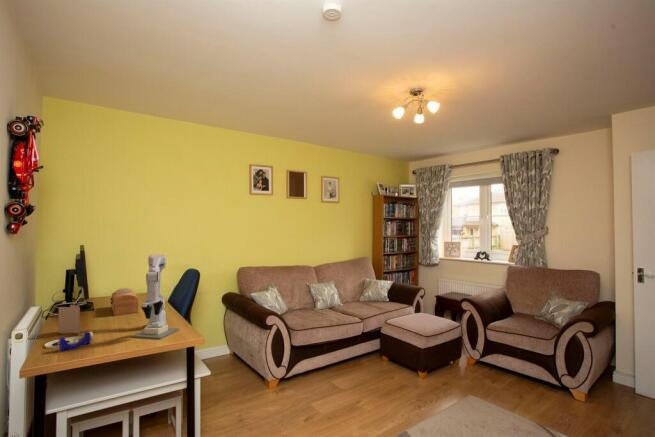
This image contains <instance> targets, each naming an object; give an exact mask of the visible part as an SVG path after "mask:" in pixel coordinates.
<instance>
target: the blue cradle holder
mask: <svg viewBox="0 0 655 437" xmlns="http://www.w3.org/2000/svg"><path fill="white" fill-rule="evenodd" d="M89 332H90V331H85V332H83V333H84V336H83V338H82V339H81V340H80V341H79V342H77V343H75V344H68V343H66V341H65V338H66V337H64V336H63V337H59V347H58V349H59V351H60V352H61V353H63V351H64V352H67V351H71V350H75V349H77V348H79V347H80V348H81V347H83V346H88V345H90V344H91V341H90V333H89Z"/></svg>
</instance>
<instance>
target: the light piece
mask: <svg viewBox="0 0 655 437" xmlns="http://www.w3.org/2000/svg"><path fill="white" fill-rule="evenodd" d="M88 332H89V333H90V342H91V341H94V333H93V331H88ZM84 333H85V332H82V333H81V332H79V333H77V336H70V337H64V338H65V341H66V343H68V344H75V343H77V342H79V341H80V340H81V339H82V338H83V336H84ZM45 347H46V348H45ZM57 347H58V348H59V339H53V340H51V341H48V342H46V343H45V344H44V348H45V349H58V348H57Z"/></svg>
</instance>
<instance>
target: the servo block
mask: <svg viewBox="0 0 655 437" xmlns="http://www.w3.org/2000/svg"><path fill="white" fill-rule="evenodd" d="M165 325H166V324H164V325H161V323H159V322H156V323H152V324H151V325H149V324H148V326H147V325H146V326H147V327H150V328H160V327H164V326H165Z"/></svg>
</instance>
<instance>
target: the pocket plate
mask: <svg viewBox="0 0 655 437" xmlns="http://www.w3.org/2000/svg"><path fill="white" fill-rule="evenodd" d="M161 325H162V324H161ZM164 325H165V326H164V327H160V328H150V327H144V328H143V330H142V331H139V332H136V333H134V334H132V335H131V338H135V339H137V338H138V339H150V340H151V339H152V340H162V339H164V338H167V337H169V336H170V335H173V334H174V333H176V332H178V331H180V328H179V327H178V328H177V327H169V325H168V324H164Z"/></svg>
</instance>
